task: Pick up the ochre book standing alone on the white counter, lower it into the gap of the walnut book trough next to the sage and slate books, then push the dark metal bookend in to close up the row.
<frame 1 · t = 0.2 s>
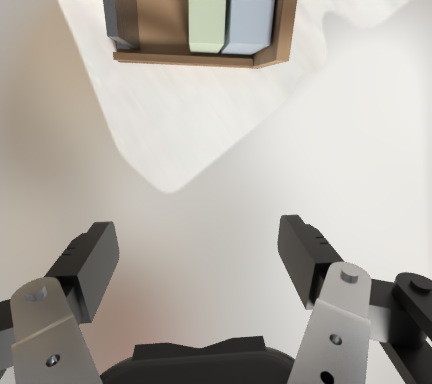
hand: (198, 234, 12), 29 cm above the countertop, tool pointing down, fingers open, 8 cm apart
bookend: (115, 14, 27), point 6 cm above the countertop, slide at 0.0 cm, touching book trough
book trough: (190, 30, 33), on the countertop
book slate: (236, 30, 32), point 1 cm above the countertop, touching book trough
book sage: (204, 28, 32), point 1 cm above the countertop, touching book trough
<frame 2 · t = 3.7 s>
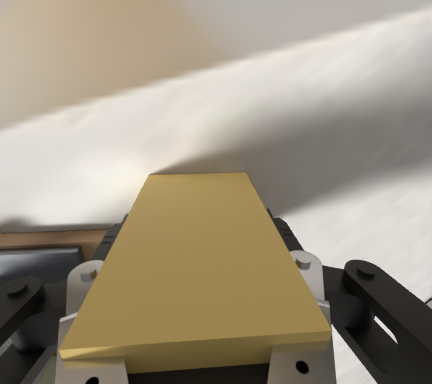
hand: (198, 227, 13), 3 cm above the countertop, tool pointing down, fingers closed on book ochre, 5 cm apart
book ochre: (198, 204, 15), on the countertop, touching gripper
book trough: (77, 338, 19), on the countertop
book sage: (75, 370, 18), point 1 cm above the countertop, touching book trough
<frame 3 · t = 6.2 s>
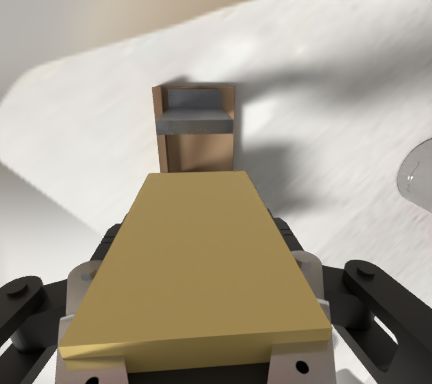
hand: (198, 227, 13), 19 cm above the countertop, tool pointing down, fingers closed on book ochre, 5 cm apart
bookend: (195, 107, 22), point 6 cm above the countertop, slide at 0.0 cm, touching book trough
book ochre: (198, 203, 15), point 16 cm above the countertop, touching gripper
book trough: (197, 169, 31), on the countertop
when the fingers open (5 cm above the countertop, at t = 8.7 s): book ochre stays where it is, resting on book trough.
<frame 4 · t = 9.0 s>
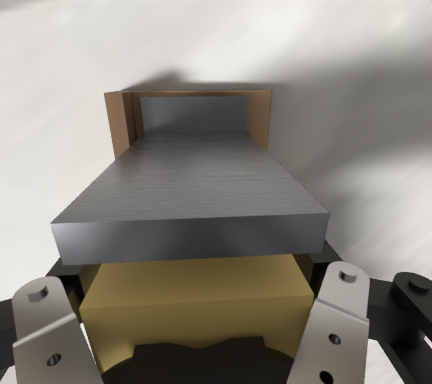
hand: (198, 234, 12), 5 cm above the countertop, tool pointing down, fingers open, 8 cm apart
bookend: (195, 142, 9), point 6 cm above the countertop, slide at 0.0 cm, touching book trough
book ochre: (198, 197, 16), point 1 cm above the countertop, touching book trough
book trough: (199, 230, 18), on the countertop
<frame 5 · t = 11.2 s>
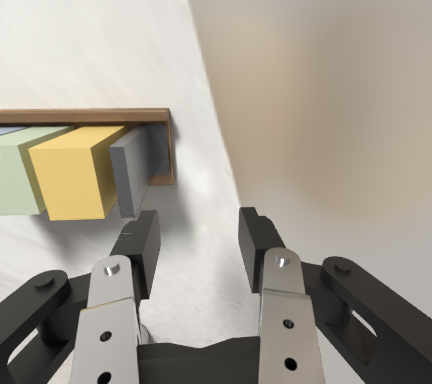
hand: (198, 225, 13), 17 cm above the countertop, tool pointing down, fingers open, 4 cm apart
bookend: (147, 163, 23), point 6 cm above the countertop, slide at 0.0 cm, touching book trough
book ochre: (112, 150, 27), point 1 cm above the countertop, touching book trough
book trough: (85, 148, 28), on the countertop
book sage: (63, 151, 26), point 1 cm above the countertop, touching book trough
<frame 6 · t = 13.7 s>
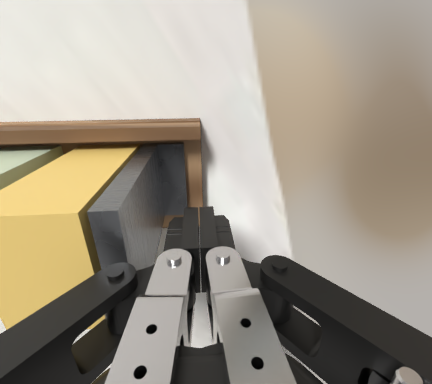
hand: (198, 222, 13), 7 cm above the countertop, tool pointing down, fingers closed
bookend: (158, 211, 14), point 6 cm above the countertop, slide at 0.9 cm, touching book trough, gripper
book ochre: (117, 181, 18), point 1 cm above the countertop, touching book trough
book trough: (78, 176, 19), on the countertop
book sage: (46, 183, 18), point 1 cm above the countertop, touching book trough
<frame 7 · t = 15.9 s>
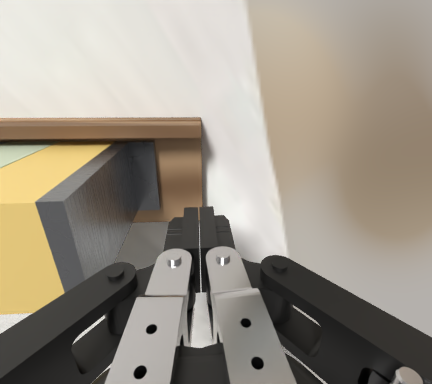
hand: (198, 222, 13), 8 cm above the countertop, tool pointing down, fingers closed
bookend: (122, 205, 15), point 6 cm above the countertop, slide at 3.2 cm, touching book ochre, book trough
book ochre: (95, 176, 19), point 1 cm above the countertop, touching book sage, book trough, bookend
book trough: (84, 171, 20), on the countertop
book sage: (44, 177, 19), point 1 cm above the countertop, touching book ochre, book slate
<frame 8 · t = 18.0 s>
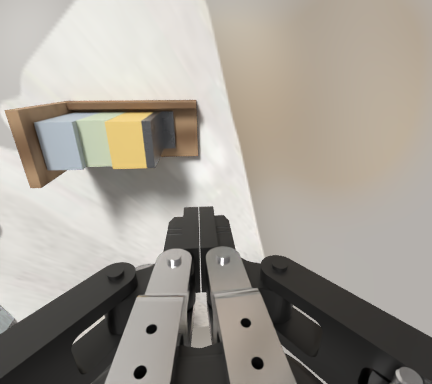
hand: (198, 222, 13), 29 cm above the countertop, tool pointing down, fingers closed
bookend: (161, 136, 33), point 6 cm above the countertop, slide at 3.2 cm, touching book ochre, book trough
book ochre: (143, 130, 38), point 1 cm above the countertop, touching book sage, book trough, bookend
book trough: (136, 129, 39), on the countertop
book slate: (92, 131, 37), point 1 cm above the countertop, touching book sage, book trough
book sage: (118, 130, 38), point 1 cm above the countertop, touching book ochre, book slate
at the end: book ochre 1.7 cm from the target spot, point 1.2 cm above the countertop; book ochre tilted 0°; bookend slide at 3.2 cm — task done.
